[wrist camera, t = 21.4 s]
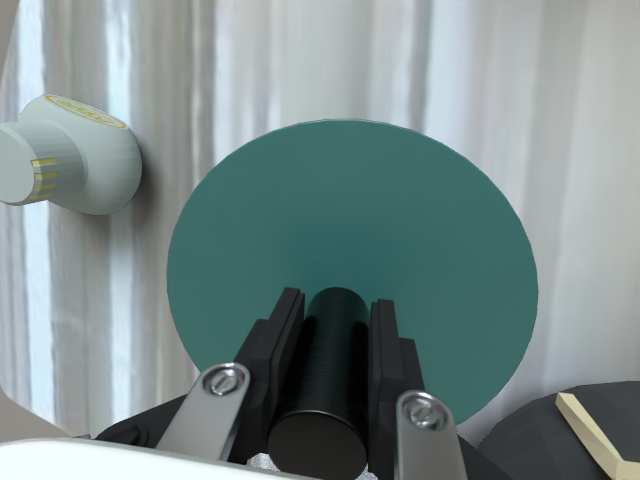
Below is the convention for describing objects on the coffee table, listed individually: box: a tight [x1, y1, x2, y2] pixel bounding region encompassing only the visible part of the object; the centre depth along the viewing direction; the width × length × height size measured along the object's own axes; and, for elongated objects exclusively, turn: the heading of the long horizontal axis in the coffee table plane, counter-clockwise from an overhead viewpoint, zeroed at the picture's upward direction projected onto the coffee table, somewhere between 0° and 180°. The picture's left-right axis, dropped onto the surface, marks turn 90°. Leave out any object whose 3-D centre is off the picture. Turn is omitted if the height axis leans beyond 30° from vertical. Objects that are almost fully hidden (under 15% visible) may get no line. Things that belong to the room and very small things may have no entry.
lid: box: [167, 119, 538, 480], centre depth 11 cm, size 15×15×7 cm
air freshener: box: [0, 94, 142, 215], centre depth 28 cm, size 11×8×10 cm
